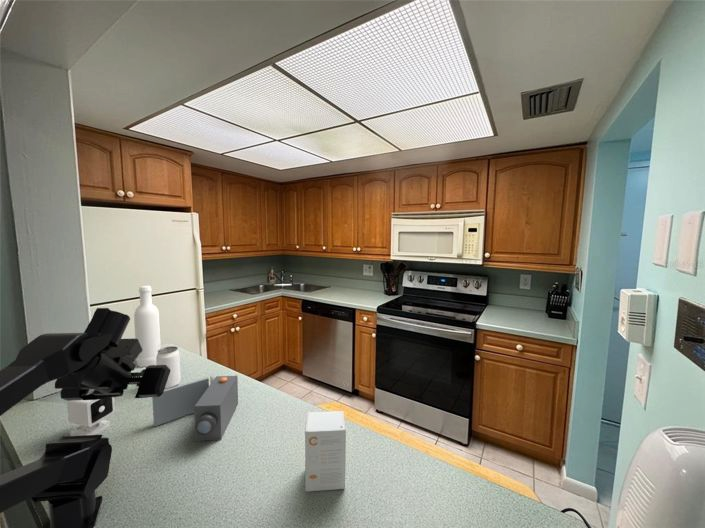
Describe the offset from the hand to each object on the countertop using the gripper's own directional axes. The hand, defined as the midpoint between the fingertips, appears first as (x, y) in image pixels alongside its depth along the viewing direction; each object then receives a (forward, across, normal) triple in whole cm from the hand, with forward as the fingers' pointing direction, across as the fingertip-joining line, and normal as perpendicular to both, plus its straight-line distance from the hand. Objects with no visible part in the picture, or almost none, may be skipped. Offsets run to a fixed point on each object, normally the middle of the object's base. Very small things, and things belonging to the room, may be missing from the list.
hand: (137, 392), depth 67 cm
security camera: (+14, +14, +5) cm, 21 cm away
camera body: (+14, -15, +5) cm, 21 cm away
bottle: (+41, +23, -23) cm, 52 cm away
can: (+29, +7, -10) cm, 32 cm away
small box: (0, -44, +19) cm, 48 cm away
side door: (+16, -5, +2) cm, 17 cm away
